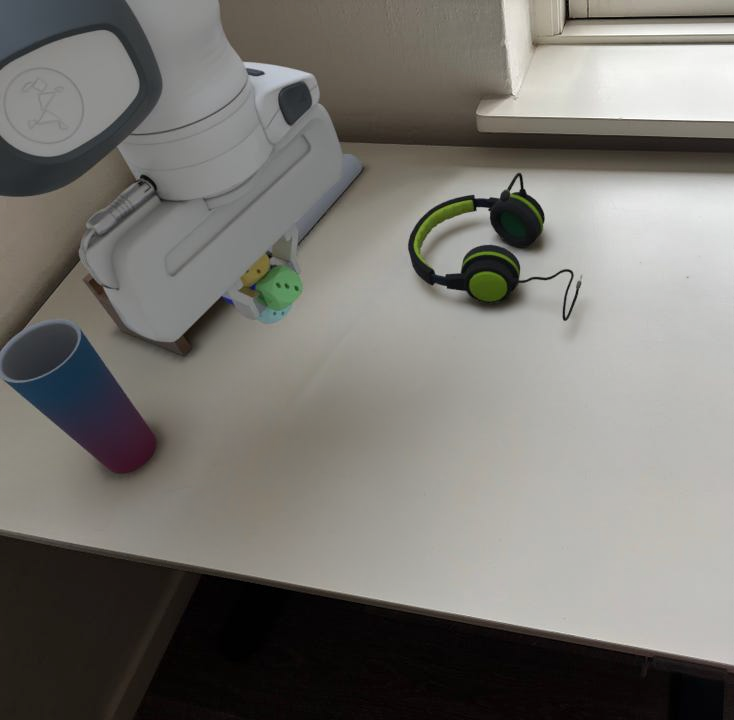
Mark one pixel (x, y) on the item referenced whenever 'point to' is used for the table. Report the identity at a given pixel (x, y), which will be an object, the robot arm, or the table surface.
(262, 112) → the robot arm
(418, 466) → the table surface
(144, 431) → the cup
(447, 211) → the headphones
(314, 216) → the half round rod
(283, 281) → the dice
